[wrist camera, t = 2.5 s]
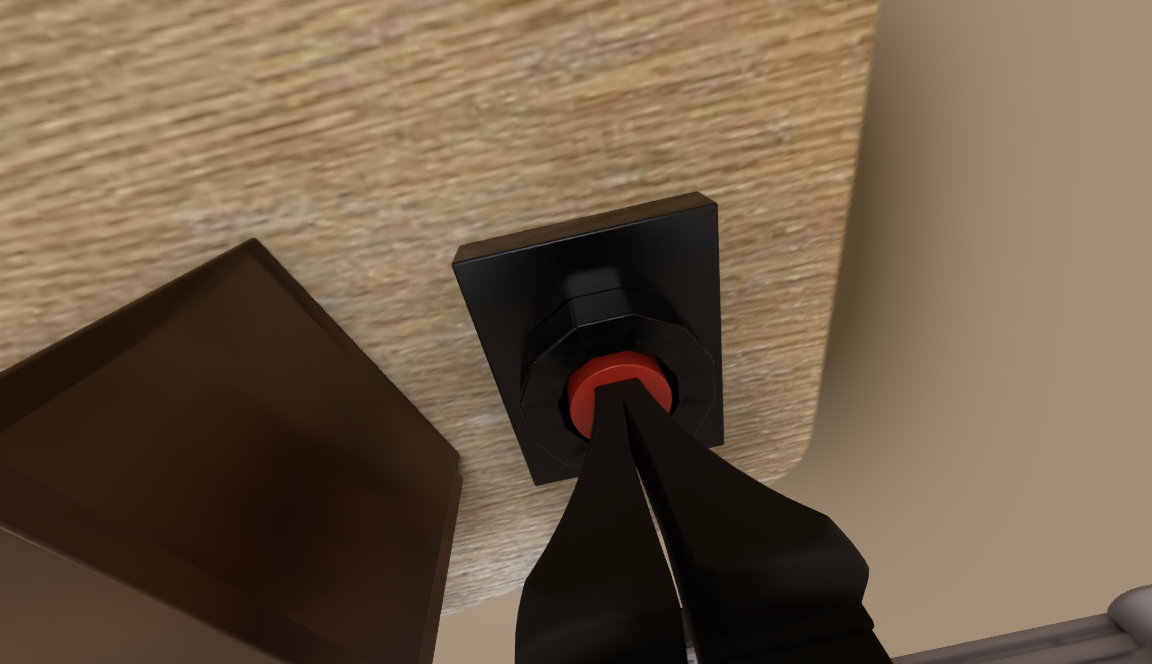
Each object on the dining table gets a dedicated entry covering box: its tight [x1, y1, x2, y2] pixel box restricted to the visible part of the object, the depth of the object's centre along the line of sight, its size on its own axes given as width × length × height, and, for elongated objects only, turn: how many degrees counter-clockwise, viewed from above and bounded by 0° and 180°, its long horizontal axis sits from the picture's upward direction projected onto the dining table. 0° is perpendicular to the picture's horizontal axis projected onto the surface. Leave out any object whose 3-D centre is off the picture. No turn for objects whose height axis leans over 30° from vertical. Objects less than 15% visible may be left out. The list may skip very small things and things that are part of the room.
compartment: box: [0, 238, 459, 664], centre depth 13 cm, size 11×14×9 cm
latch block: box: [452, 192, 724, 486], centre depth 15 cm, size 10×8×4 cm
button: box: [567, 351, 672, 439], centre depth 14 cm, size 3×3×2 cm
